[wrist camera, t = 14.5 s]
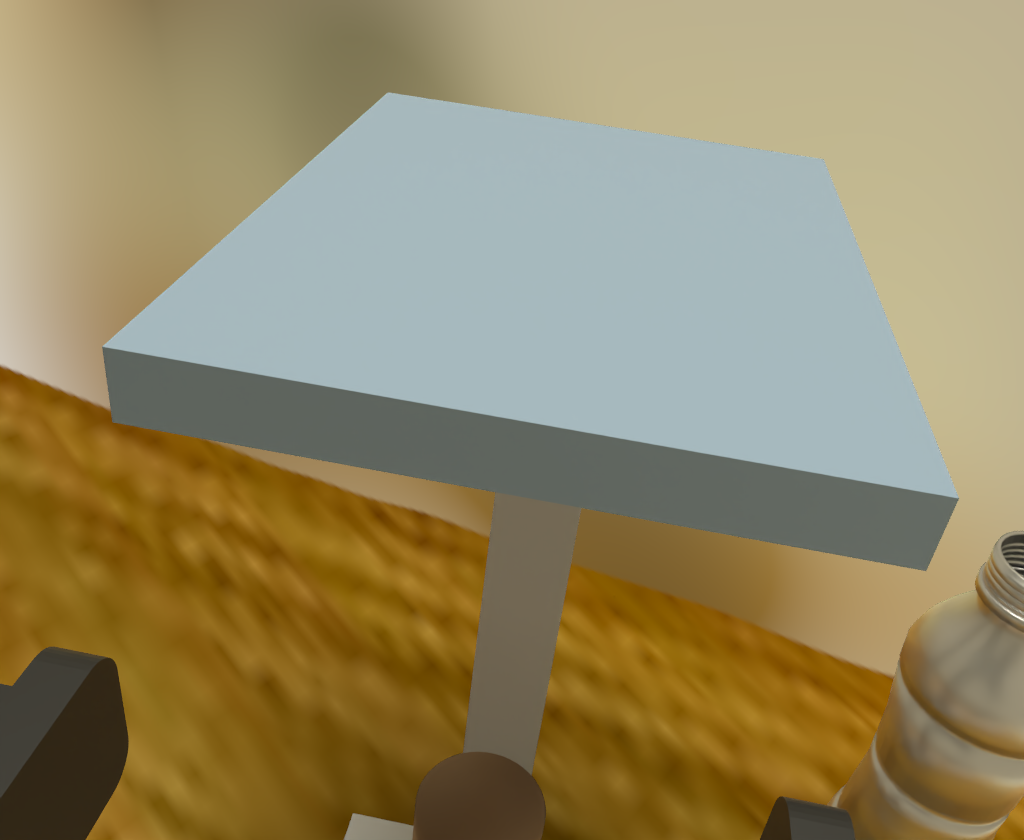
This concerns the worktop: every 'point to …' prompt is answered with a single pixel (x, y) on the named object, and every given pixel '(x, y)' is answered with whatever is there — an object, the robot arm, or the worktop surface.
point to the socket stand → (553, 355)
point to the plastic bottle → (951, 718)
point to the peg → (479, 800)
